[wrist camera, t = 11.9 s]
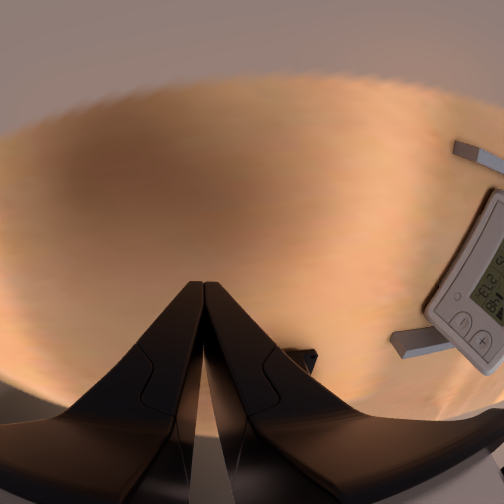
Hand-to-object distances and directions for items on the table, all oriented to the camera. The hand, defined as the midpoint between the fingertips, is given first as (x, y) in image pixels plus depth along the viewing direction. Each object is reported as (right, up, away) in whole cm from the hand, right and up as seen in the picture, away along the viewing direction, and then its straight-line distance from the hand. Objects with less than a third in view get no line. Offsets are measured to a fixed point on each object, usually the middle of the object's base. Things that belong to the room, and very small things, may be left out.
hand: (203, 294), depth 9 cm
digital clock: (+24, +1, +17) cm, 30 cm away
